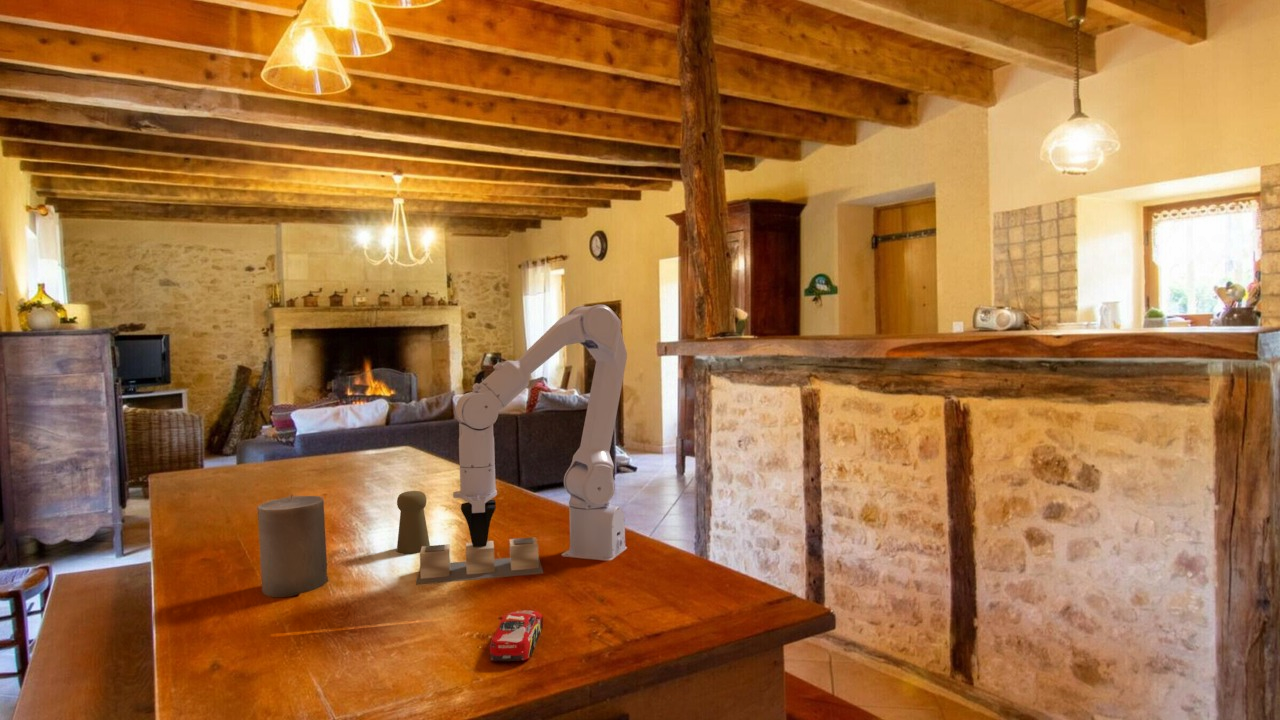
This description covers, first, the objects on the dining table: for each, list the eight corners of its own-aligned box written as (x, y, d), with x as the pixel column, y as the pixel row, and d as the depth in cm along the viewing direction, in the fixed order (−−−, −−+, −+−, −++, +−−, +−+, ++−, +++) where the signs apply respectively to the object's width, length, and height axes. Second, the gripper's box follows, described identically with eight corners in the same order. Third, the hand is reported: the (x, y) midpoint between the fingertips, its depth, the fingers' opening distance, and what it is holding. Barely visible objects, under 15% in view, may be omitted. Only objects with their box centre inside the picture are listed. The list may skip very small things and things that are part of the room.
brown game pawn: (420, 556, 135) (418, 495, 135) (389, 555, 137) (387, 495, 136) (436, 547, 141) (434, 488, 141) (406, 545, 143) (404, 488, 142)
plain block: (494, 563, 129) (493, 540, 129) (494, 572, 125) (493, 548, 124) (466, 566, 128) (466, 542, 128) (466, 574, 124) (465, 550, 124)
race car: (507, 625, 104) (506, 596, 104) (546, 625, 104) (546, 596, 104) (483, 667, 91) (482, 634, 91) (528, 667, 91) (527, 634, 90)
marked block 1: (450, 567, 127) (449, 543, 127) (449, 576, 123) (448, 550, 123) (422, 570, 126) (421, 545, 126) (420, 578, 122) (419, 553, 122)
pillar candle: (341, 580, 124) (337, 488, 123) (296, 600, 114) (291, 501, 114) (294, 575, 127) (289, 486, 126) (246, 595, 118) (241, 499, 117)
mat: (538, 557, 133) (538, 555, 133) (543, 575, 124) (543, 573, 124) (420, 567, 129) (420, 565, 129) (416, 586, 119) (415, 584, 119)
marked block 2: (536, 560, 131) (535, 536, 130) (538, 568, 126) (538, 543, 126) (510, 562, 130) (509, 538, 129) (511, 570, 125) (510, 545, 125)
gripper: (453, 459, 132) (456, 536, 132) (451, 474, 118) (453, 560, 118) (495, 456, 133) (497, 533, 134) (497, 471, 119) (499, 557, 120)
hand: (479, 546), depth 126 cm, fingers closed, pressing on plain block
